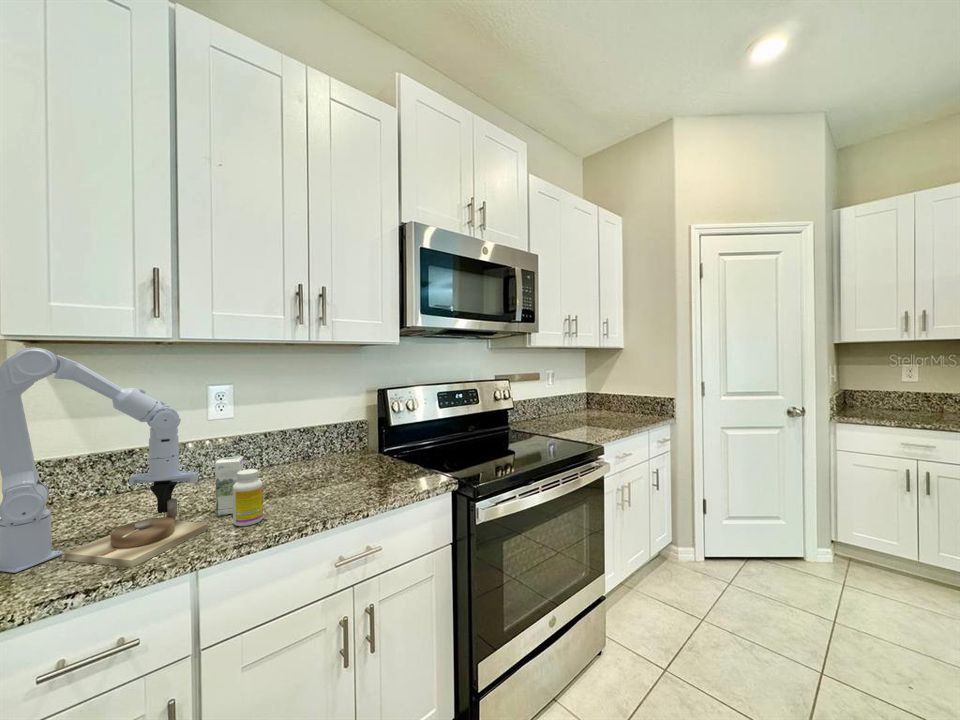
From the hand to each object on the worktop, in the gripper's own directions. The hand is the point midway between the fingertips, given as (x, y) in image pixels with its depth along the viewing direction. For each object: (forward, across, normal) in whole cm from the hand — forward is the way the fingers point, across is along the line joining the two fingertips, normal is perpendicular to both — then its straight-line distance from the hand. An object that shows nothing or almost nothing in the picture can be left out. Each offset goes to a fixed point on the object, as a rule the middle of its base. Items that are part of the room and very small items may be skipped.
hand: (164, 511), depth 99 cm
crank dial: (+2, -1, +6) cm, 7 cm away
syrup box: (+4, -10, -10) cm, 15 cm away
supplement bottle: (+4, -18, -2) cm, 19 cm away
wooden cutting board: (+4, 0, +8) cm, 9 cm away
